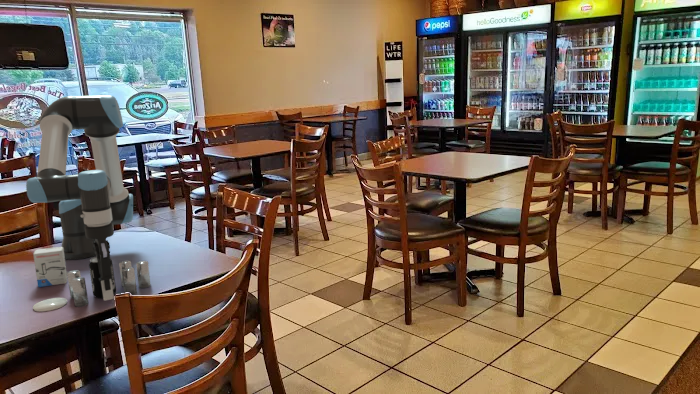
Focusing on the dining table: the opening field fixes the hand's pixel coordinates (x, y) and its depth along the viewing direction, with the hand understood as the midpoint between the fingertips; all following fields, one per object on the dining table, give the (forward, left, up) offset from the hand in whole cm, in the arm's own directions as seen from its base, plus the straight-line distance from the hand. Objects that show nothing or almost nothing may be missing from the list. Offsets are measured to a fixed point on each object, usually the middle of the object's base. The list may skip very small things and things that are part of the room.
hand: (108, 298), depth 156 cm
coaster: (-10, -15, -2) cm, 18 cm away
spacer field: (-9, +2, -2) cm, 9 cm away
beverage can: (-9, 0, -2) cm, 9 cm away
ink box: (-31, -13, -2) cm, 33 cm away
